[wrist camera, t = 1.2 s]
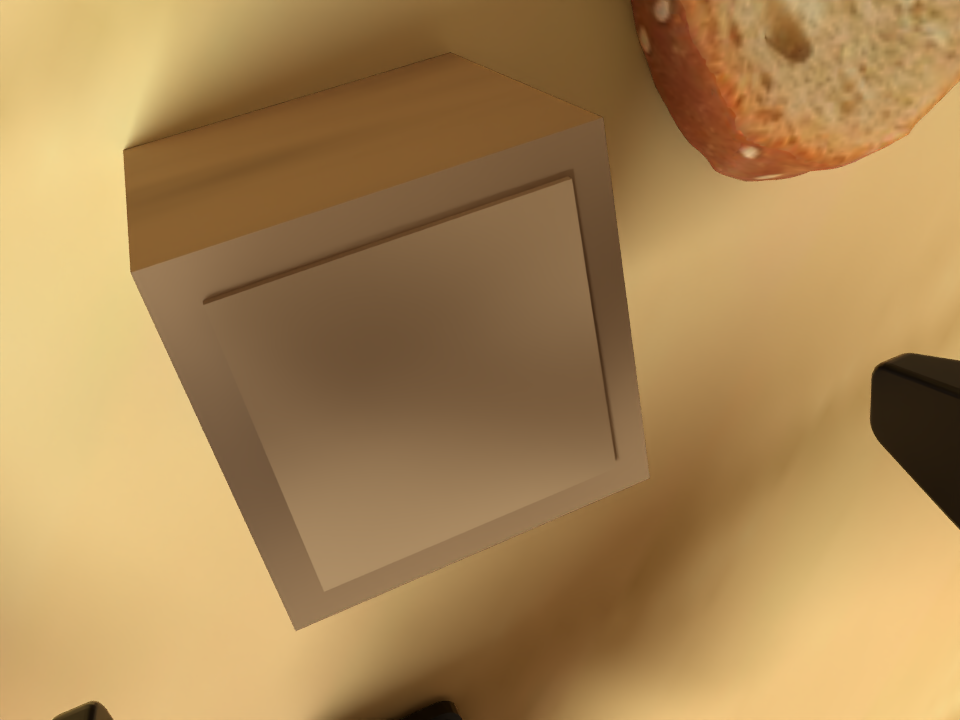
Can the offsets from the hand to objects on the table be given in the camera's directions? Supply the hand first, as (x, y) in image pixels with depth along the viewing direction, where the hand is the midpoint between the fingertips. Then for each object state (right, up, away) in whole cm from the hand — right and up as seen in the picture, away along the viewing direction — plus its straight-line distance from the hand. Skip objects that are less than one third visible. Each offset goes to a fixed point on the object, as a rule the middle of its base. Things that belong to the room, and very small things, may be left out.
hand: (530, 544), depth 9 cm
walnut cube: (-3, +4, +8) cm, 9 cm away
